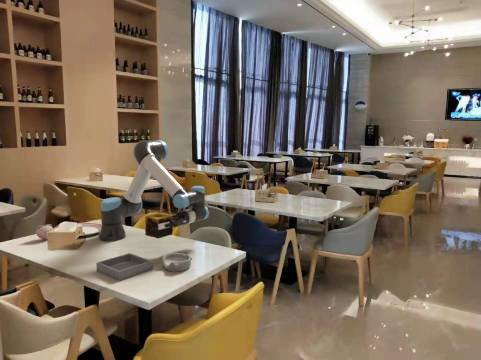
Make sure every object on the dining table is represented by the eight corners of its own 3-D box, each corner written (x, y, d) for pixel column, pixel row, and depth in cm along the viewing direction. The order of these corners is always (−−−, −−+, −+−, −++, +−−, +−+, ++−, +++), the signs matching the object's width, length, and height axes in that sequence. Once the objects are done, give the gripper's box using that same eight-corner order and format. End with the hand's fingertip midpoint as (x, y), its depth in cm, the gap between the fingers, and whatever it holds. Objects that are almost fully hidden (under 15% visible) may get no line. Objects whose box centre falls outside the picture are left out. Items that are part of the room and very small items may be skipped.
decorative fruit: (42, 243, 224) (41, 226, 223) (34, 240, 228) (32, 224, 227) (57, 239, 232) (56, 222, 231) (48, 236, 236) (47, 220, 235)
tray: (96, 270, 183) (96, 262, 182) (129, 260, 196) (129, 253, 196) (119, 280, 171) (118, 272, 171) (152, 269, 185) (152, 261, 184)
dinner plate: (114, 230, 251) (114, 225, 251) (77, 241, 228) (77, 236, 227) (86, 225, 265) (85, 220, 265) (48, 234, 242) (48, 229, 241)
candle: (157, 239, 193) (157, 219, 192) (144, 235, 199) (144, 216, 198) (173, 234, 201) (173, 215, 200) (160, 231, 207) (159, 212, 206)
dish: (179, 274, 179) (179, 264, 179) (155, 269, 186) (155, 258, 185) (197, 264, 192) (197, 255, 191) (175, 260, 198) (175, 250, 198)
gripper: (200, 227, 206) (166, 236, 189) (171, 220, 221) (138, 228, 204) (199, 213, 205) (166, 221, 188) (171, 207, 220) (137, 214, 203)
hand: (151, 225), depth 196 cm, fingers closed on candle, 10 cm apart
